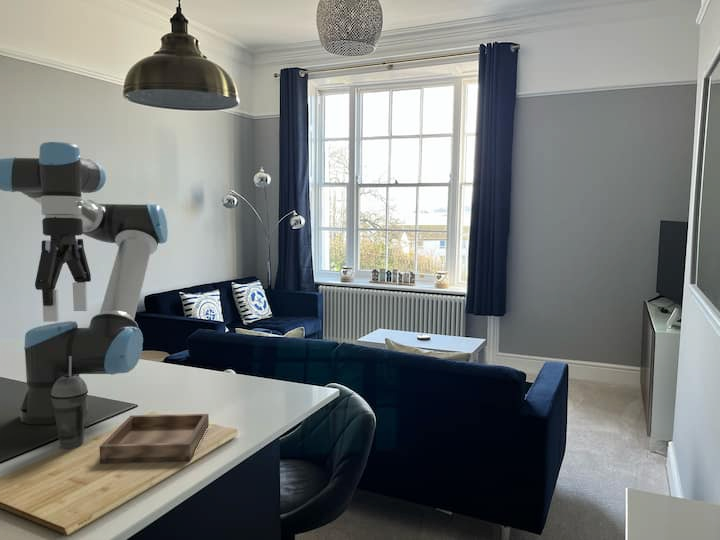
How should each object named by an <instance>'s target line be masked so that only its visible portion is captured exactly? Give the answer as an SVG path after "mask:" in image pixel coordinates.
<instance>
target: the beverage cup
mask: <svg viewBox="0 0 720 540" xmlns="http://www.w3.org/2000/svg"><path fill="white" fill-rule="evenodd" d="M71 366H72V356H69V375H65V376H63V377H61V378H59V379H58V380H57V381H56V382H55V384H54V385H53V388H52V391H51V398H52V403H53V406H54V411H55V418H56V423H55V424H56V430H57V436H58V437H57V438H58V442H59V447H60V449H62V450H72V449H77V448H79V447H81V446H82V445H84V437H85V423H86V422H85V420H86V419H85V418H86V413H85V406H86V399H87V398H88V393H89V390H88V386H87V383H86V381H85V380H84V379H83V378H82V377H80V375H79V376H76V375H71ZM87 400H88V399H87Z"/></svg>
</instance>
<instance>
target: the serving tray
mask: <svg viewBox="0 0 720 540" xmlns="http://www.w3.org/2000/svg"><path fill="white" fill-rule="evenodd" d="M208 426H209V427H210V425H209V413H194V414H193V413H191V414H190V413H187V414H149V415H148V414H147V415H146V414H145V415H144V414H142V415H140V414H139V415H129V417H128V418H126V419H125V420H124V422H122V424H120V425H119V426H118V428H116V429H115V431H114V432H113V433H111V434H110V436H109V437H107V438H106V440H104V442H103V443H101V444H100V445H99V447H98V448H99V463H100V464H118V463H119V464H120V463H121V464H123V463H122V462H130V463H157V462H156V461H158V462H159V461H167V462H191V460H192V459H193V457H194V455H195V454H194V452H195V450H196V448H197V446H198V444H199V442H200V440H201V439H202V437H203V435H204V433H205V431H206V429H207V428H208ZM202 440H203V439H202ZM198 447H199V446H198ZM197 449H198V448H197ZM196 451H197V450H196ZM195 453H196V452H195ZM154 461H155V462H154ZM159 463H160V462H159Z"/></svg>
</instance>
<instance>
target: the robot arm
mask: <svg viewBox="0 0 720 540" xmlns="http://www.w3.org/2000/svg"><path fill="white" fill-rule="evenodd" d="M106 177H107V176H106V172H105V170H104V168H103V167H102V166H101V165H100V164H99V163H97V162H95V161H93V160H91V159H88V158H87V159H86V158H82V156H81V152H80V148H79V146H78V145H77V144H75V143H70V142H61V141H48V142H47V141H45V142H43V143H41V144H40V146H39V155H38V157H34V158H33V157H16V156H15V157H14V156H13V157H4V158H0V191H3V192H11V193H15V192H19V193H21V194H23V195H24V196H27V197H29V198H30V199H32V200H33V201H35V202H36V203H38V204H40V205H41V215H42V216H44V218H43V219H42V234H43V235H44V236H50V240H47V239H46V240H42V241H41V252H40V257H39V260H38V261H39V262H38V267H37V272H36V277H35V283H34V287H35V290H36V291H41V299H42V318H43V319H42V320H43V323H46V322H47V323H49V324H44V325H39V326H37V327H33V328H31V329H29V330H27V331H26V333H25V334H24V346H23V350H24V359H25V374H26V375H25V376H26V390H25V394H24V396H23V400H22V403H21V406H20V410H19V418H20V419H19V420H20V422H22V423H24V424H26V425H35V426H37V425H38V426H39V425H53V424H56V418H55V411H54V406H53V403H52V398H51V391H52V388H53V385H54V384H55V382H56V381H57V380H58V379H59V378H61V377H63V376H65V375H69V356H72V366H71V375H76V376H79V377H80V375H112V376H113V375H116V374H125V373H129V372H131V371H132V370H134V368H135V367H136V366H137V364H138V363H139V361H140V359H141V356H142V353H143V343H144V337H143V333H142V331H141V329H140V328H139V325H138V323H137V321H135V319H136V318H135V317H136V313H137V310H138V305H139V302H140V297H141V293H142V288H143V285H144V281H145V276H146V273H147V269H148V265H149V260H150V257H151V255H153V254H154V253H156V251H157V249H158V246H159V244H161V245H163V244H165V243H166V242H167V240H168V233H169V232H168V222H167V218H166V214H165V211H164V209H163V207H162V206H161V205H158V204H152V203H151V204H149V203H146V204H128V203H127V204H123V203H122V204H119V203H116V204H115V203H110V204H109V203H98V202H96V201H94V200H92V199H87V198H85V197H83V196H82V193H83V194H86V193H87V194H90V193H96V192H99V191H100V190H101V189H102V188H104V185H105V183H106V179H107V178H106ZM82 235H84V236H85V237H89V238H91V239H93V240H96V241H100V242H103V243H109V244H116V246H117V247H118V248H117V252H116V256H115V260H114V263H113V267H112V268H111V273H110V276H109V281H108V283H107V288H106V290H105V294H104V298H103V302H102V304H101V308H100V311H99V313H98V314H95V315H94V316H93V317H92V318H91V320H90V324H89V326H88V327H79V325H78V323H77V321H74V320H73V321H71V320H70V321H68V320H67V321H62V322H59V321H60V315H59V314H60V313H59V292H58V288H57V289H56V286H57V283H58V280H59V277H60V274H61V271H62V268H63V265H64V264H65V263H66V265H67V268H68V270H69V271H70V274H71V276H72V278H73V281H74V282H72V299H73V301H72V303H73V304H72V305H73V312H87V311H88V293H87V291H88V290H87V289H88V288H87V283H90V282H91V281H92V278H91V276H92V275H91V272H90V267H89V263H88V258H87V255H86V252H85V247H84V239H83V238H76V237H77V236H82ZM50 322H53V323H50ZM54 322H55V323H54ZM87 412H89V402H88V399H86V406H85V414H86V413H87Z"/></svg>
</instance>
